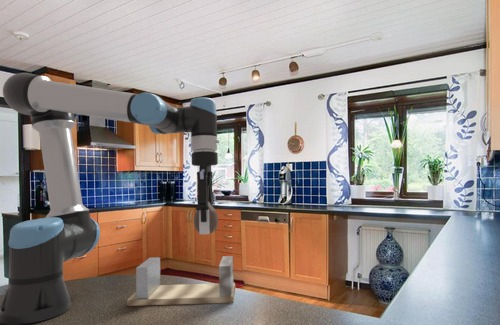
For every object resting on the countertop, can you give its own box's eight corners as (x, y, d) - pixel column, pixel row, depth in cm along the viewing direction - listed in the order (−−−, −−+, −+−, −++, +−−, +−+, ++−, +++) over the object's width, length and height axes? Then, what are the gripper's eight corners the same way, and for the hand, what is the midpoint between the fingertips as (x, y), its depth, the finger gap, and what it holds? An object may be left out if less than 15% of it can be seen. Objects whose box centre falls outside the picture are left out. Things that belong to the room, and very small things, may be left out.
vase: (188, 234, 92) (188, 202, 92) (203, 230, 98) (202, 201, 99) (209, 235, 89) (208, 202, 89) (222, 231, 95) (222, 201, 95)
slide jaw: (136, 298, 86) (136, 267, 87) (150, 284, 98) (150, 257, 99) (147, 298, 86) (147, 267, 87) (160, 284, 98) (160, 257, 99)
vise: (127, 305, 86) (126, 269, 87) (142, 290, 98) (141, 258, 99) (233, 302, 86) (232, 265, 87) (235, 287, 98) (234, 255, 99)
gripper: (213, 147, 85) (215, 237, 84) (220, 154, 105) (222, 226, 103) (184, 148, 85) (186, 238, 84) (197, 155, 105) (198, 227, 103)
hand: (206, 231), depth 93 cm, fingers closed on vase, 7 cm apart
